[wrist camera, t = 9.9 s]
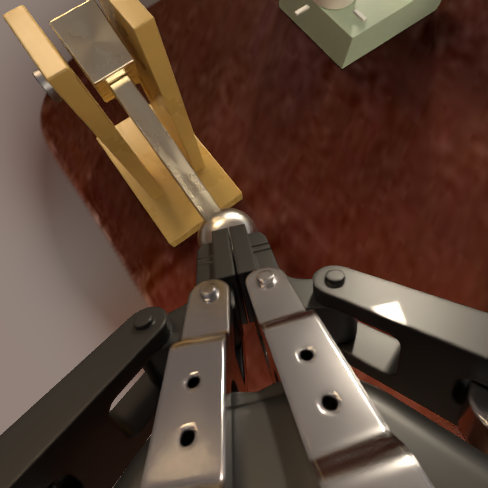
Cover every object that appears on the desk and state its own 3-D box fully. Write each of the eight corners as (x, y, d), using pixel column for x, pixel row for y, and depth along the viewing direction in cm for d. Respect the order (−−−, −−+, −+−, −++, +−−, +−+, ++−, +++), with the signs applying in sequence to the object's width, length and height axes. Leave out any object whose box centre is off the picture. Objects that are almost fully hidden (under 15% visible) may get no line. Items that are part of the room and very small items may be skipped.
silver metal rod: (259, 240, 18) (278, 249, 15) (216, 272, 18) (226, 289, 15) (119, 30, 14) (103, -23, 11) (61, 64, 14) (24, 20, 11)
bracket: (243, 198, 23) (228, 62, 10) (174, 247, 22) (67, 163, 9) (166, 105, 25) (82, -93, 13) (102, 145, 25) (-53, -24, 12)
